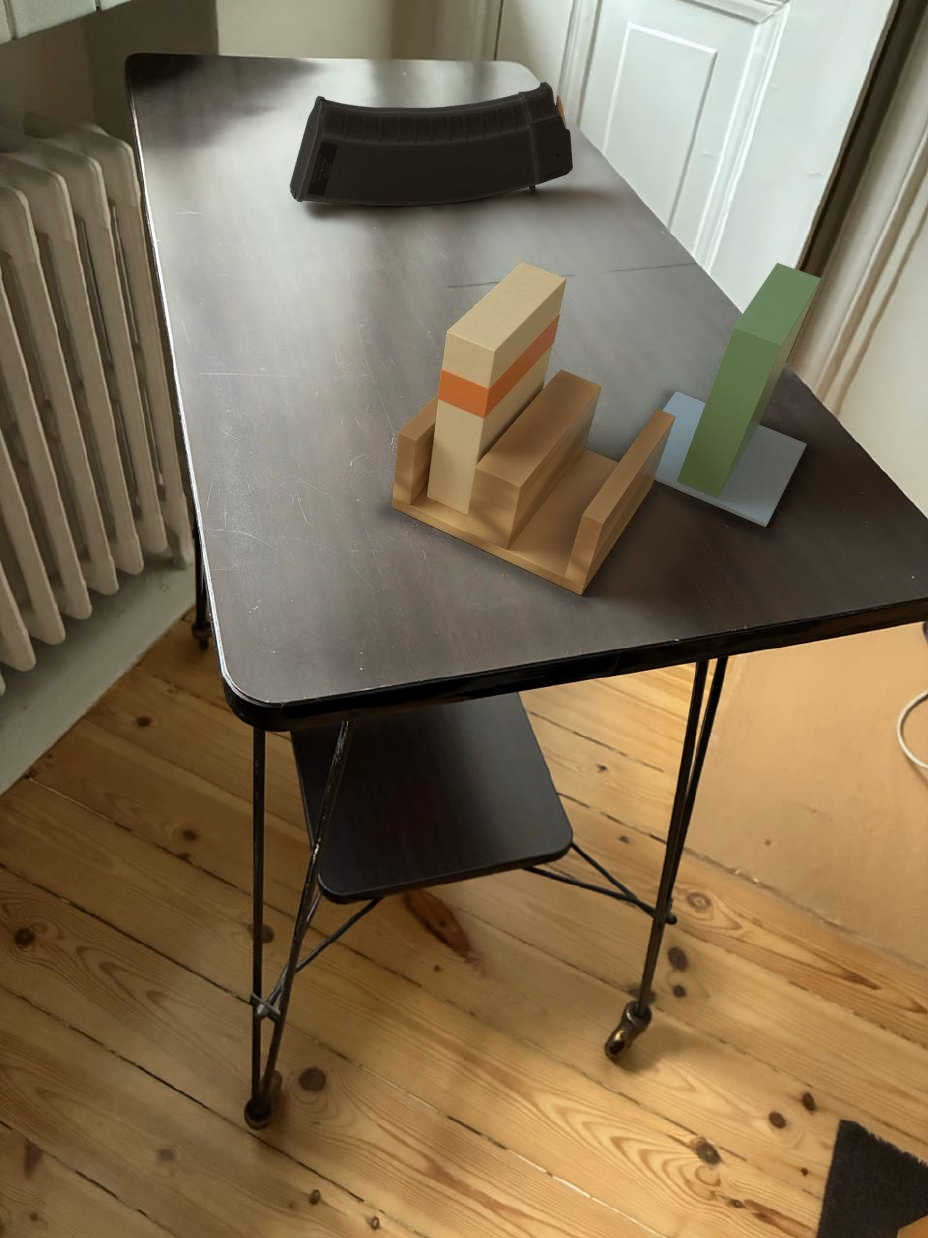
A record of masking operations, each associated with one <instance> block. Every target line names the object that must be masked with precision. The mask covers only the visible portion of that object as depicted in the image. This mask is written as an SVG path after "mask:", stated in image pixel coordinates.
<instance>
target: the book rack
mask: <svg viewBox="0 0 928 1238" xmlns="http://www.w3.org/2000/svg"><path fill="white" fill-rule="evenodd" d="M601 392H602V385H601V384H598V383H595V382H593V381H591V380H588V379H586V378H583V377H581V376H579V375H576V374H574V373H571V372H569V371H567V370H564V369H562V368H561V369H559V370H558V371H557V372H556V373H555V375H554V376H553V377H552V378H551V380H550V381H548V383H547V384H545V385H544V387H543V390H542V391H541V392H540V393H539V394H538V395H537V397H536V398H535V399H534V400H533V401H532V402H531V403H530V405H529V406H528V407H527V408H526V409H525V410H524V411H523V413H522V414H521V415H520V416H519V417H518V418H517V419H516V421H515V422H514V423H513V424H512V425H511V426H510V427H509V429H508V430H507V431H506V432H505V433H504V434H503V435H502V437H501V438H500V439H499V440H498V441H497V442H496V443H495V445H494V446H493V447H492V448H491V449H490V450H489V451H488V453H487V454H486V455H485V456H484V457H483V458H482V459H481V461H480V462H479V463H478V464H477V465H476V466H475V471H474V477H473V483H472V489H471V495H470V501H469V507H468V513H467V515H465V514H463V513H461V512H459V511H457V510H455V509H452V508H450V507H448V506H446V505H444V504H442V503H439V502H437V501H435V500H433V499H431V498H428V497H427V491H428V483H429V475H430V466H431V458H432V450H433V442H434V433H435V425H436V417H437V409H438V400H439V399H438V393H437V394H435V396H434V397H433V398H431V400H430V401H429V402H427V404H425V406H423V407H422V408H421V409H420V410H419V411H418V412H417V413H416V414H415V415H414V417H413V418H411V420H409V421H408V422H407V423H406V425H404V426H403V427H402V428H401V429H400V430H399V431H398V433H397V446H396V458H395V470H394V479H393V481H394V482H393V492H392V503H391V508H393V509H394V510H397V511H398V512H401V513H402V514H403V513H404V514H405V515H407V516H410V517H412V518H414V519H416V520H418V521H420V522H422V523H425V524H427V525H429V526H431V527H433V528H435V529H437V530H440V531H441V532H444V533H446V534H448V535H450V536H453V537H455V538H457V539H459V540H461V541H463V542H465V543H468V544H470V545H472V546H474V547H475V548H479V549H480V550H483V551H485V552H487V553H489V554H491V555H493V556H496V557H498V558H500V559H501V560H504V561H505V562H508V563H510V564H512V565H515V566H516V567H519V568H521V569H524V570H526V571H527V572H530V573H531V574H534V575H536V576H538V577H540V578H543V579H545V580H547V581H549V582H551V583H554V584H555V585H557V586H560V587H561V588H564V589H565V590H568V591H570V592H573V593H575V594H576V595H579V596H583V593H584V592H585V590H586V589H587V587H588V586H589V584H590V583H591V581H592V580H593V578H594V577H595V575H596V573H597V572H598V570H599V569H600V567H601V566H602V564H603V563H604V561H605V559H606V558H607V556H608V555H609V553H610V551H611V550H612V549H613V547H614V546H615V544H616V542H618V540H619V538H620V537H621V535H622V533H623V532H624V531H625V529H626V527H627V526H628V524H629V522H630V521H631V519H632V518H633V516H635V514H636V512H637V510H638V509H639V507H640V506H641V504H642V503H643V501H644V500H645V499H646V497H647V495H648V493H649V491H650V490H651V489H652V487H653V484H654V481H655V480H654V478H655V475H656V473H657V470H658V467H659V464H660V461H661V458H662V455H663V452H664V449H665V447H666V444H667V441H668V438H669V435H670V432H671V429H672V426H673V423H674V421H675V418H676V416H674V415H672V414H670V413H667V412H665V411H663V409H660V408H657V409H656V410H655V411H654V413H653V414H652V415H651V417H650V418H649V420H648V421H647V422H646V423H645V425H644V427H643V429H642V430H641V431H640V433H639V434H638V435H637V437H636V438H635V440H634V441H633V443H632V444H631V446H629V448H628V450H627V451H626V452H625V453H624V455H623V457H622V458H621V459H620V460H619V462H618V461H615V460H613V459H610V458H609V457H606V456H603V455H602V454H599V453H597V452H594V451H592V450H590V449H587V448H586V447H587V444H588V440H589V437H590V432H591V428H592V425H593V421H594V418H595V413H596V410H597V406H598V402H599V398H600V395H601Z"/></svg>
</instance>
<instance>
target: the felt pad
mask: <svg viewBox="0 0 928 1238" xmlns="http://www.w3.org/2000/svg"><path fill="white" fill-rule="evenodd" d="M705 403H706V402H705V401H701V400H699V399H697V398H694V397H691V396H689V395H686V394H684V393H682V392H680V391H675V392H674V393H673V395H672V396H671V398H670V399H669V400H668V402H667V403H666V405H665V407H664V408H662V411H665V412H667V413H670V414H672V415H674V416H676V418H675V421H674V423H673V426H672V429H671V432H670V435H669V438H668V441H667V444H666V447H665V449H664V452H663V455H662V458H661V461H660V464H659V467H658V470H657V473H656V475H655V478H654V481H656V482H659V483H661V484H663V485H665V486H667V487H670V488H672V489H675V490H677V491H680V492H682V493H685V494H686V495H689V496H692V497H694V498H695V499H698V500H701V501H703V502H705V503H708V504H710V505H712V506H715V507H717V508H719V509H723V510H724V511H727V512H728V513H731V514H734V515H735V516H738V517H740V518H742V519H745V520H747V521H749V522H752V523H753V524H754V523H755V524H757V525H759V526H762V527H763V528H766V527H767V525H769V522H770V520H771V518H772V516H773V514H774V512H775V510H776V508H777V506H778V505H779V502H780V500H781V498H782V496H783V493H784V491H785V490H786V487H787V486H788V484H789V481H790V480H791V477H792V475H793V474H794V472H795V469H796V468H797V466H798V463H799V461H800V459H801V458H802V455H803V453H804V451H805V449H806V447H807V445H808V443H806V442H803V441H801V440H798V439H797V438H793V437H791V436H789V435H786V434H784V433H781V432H779V431H776V430H774V429H771V428H768V427H767V426H763V425H761V424H759V426H758V428H757V430H756V432H755V433H754V435H753V437H752V439H751V441H750V442H749V444H748V446H747V448H746V449H745V451H744V453H743V455H742V457H741V458H740V460H739V462H738V464H737V466H736V467H735V469H734V471H733V473H732V475H731V476H730V478H729V480H728V482H727V483H726V485H725V487H724V489H723V491H722V492H721V494H720V496H719V498H718V499H717V498H715V497H712V496H710V495H708V494H705V493H703V492H701V491H698V490H696V489H694V488H691V487H689V486H687V485H684V484H682V483H679V482H677V479H678V476H679V474H680V471H681V468H682V466H683V463H684V460H685V457H686V455H687V452H688V449H689V447H690V444H691V441H692V439H693V436H694V433H695V430H696V428H697V425H698V422H699V420H700V417H701V414H702V412H703V409H704V406H705Z"/></svg>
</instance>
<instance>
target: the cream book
mask: <svg viewBox="0 0 928 1238" xmlns="http://www.w3.org/2000/svg"><path fill="white" fill-rule="evenodd" d="M567 280H568V279H567V278H566V277H564V276H561V275H559V274H556V273H553V272H551V271H548V270H545V269H542V268H540V267H538V266H535V265H532V264H530V263H527V262H524V261H521V262H520V263H519V264H518V265H517V266H516V267H515V268H514V269H513V270H512V271H510V272H509V274H507V275H506V276H505V277H504V278H503V279H502V280H501V281H500V282H499V283H497V285H495V286H494V287H493V288H492V289H491V290H490V291H489V292H488V293H487V294H485V296H483V297H482V298H481V299H480V300H479V301H478V302H477V303H476V304H475V305H474V306H473V307H472V308H470V309H469V310H468V311H467V312H466V313H465V314H464V315H463V316H462V317H461V318H460V319H459V320H457V321H456V322H455V323H454V324H453V325H452V326H450V328H449V329H448V330H446V336H445V342H444V343H445V344H444V352H443V360H442V367H441V369H440V374H439V375H440V377H439V382H438V383H439V384H438V391H437V394H438V399H439V400H438V409H437V417H436V425H435V433H434V442H433V450H432V458H431V466H430V475H429V483H428V491H427V497H428V498H431V499H433V500H435V501H437V502H439V503H442V504H444V505H446V506H448V507H450V508H452V509H455V510H457V511H459V512H461V513H463V514H465V515H467V513H468V507H469V501H470V495H471V489H472V483H473V477H474V471H475V466H476V465H477V464H478V463H479V462H480V461H481V459H482V458H483V457H484V456H485V455H486V454H487V453H488V451H489V450H490V449H491V448H492V447H493V446H494V445H495V443H496V442H497V441H498V440H499V439H500V438H501V437H502V435H503V434H504V433H505V432H506V431H507V430H508V429H509V427H510V426H511V425H512V424H513V423H514V422H515V421H516V419H517V418H518V417H519V416H520V415H521V414H522V413H523V411H524V410H525V409H526V408H527V407H528V406H529V405H530V403H531V402H532V401H533V400H534V399H535V398H536V397H537V395H538V394H539V393H540V392H541V391H542V390H543V389H544V387H545V382H546V377H547V373H548V367H549V363H550V358H551V354H552V350H553V345H554V343H555V339H556V335H557V331H558V326H559V321H560V316H561V314H560V312H561V307H562V303H563V298H564V293H565V289H566V286H567V285H566V284H567Z"/></svg>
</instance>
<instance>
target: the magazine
mask: <svg viewBox="0 0 928 1238" xmlns="http://www.w3.org/2000/svg"><path fill="white" fill-rule="evenodd" d="M554 96H555V95H554V90H553V87H552V85H550V84H549V83H548V82H547V81H542V82H540V83H539V86H538V87H536V88H534V89H531V90H525V91H517V93H515V94H512V95H507V96H503V97H498V98H493V99H489V100H484V101H478V102H473V103H465V104H463V103H462V104H457V105H448V106H433V107H432V106H431V107H401V106H398V107H394V106H393V107H392V106H391V107H390V106H389V107H387V106H386V107H383V106H381V107H379V106H377V107H376V106H375V107H373V106H363V105H355V104H348V103H342V102H338V101H334V100H329V99H326V98H325V96H321V95H317V96H316V97H315V100H314V104H313V108H312V109H311V111H310V112H309V114H308V117H307V120H306V124H305V128H304V131H303V134H302V139H301V142H300V146H299V149H298V152H297V153H298V154H297V157H296V161H295V165H294V167H293V172H292V175H291V179H290V183H289V192H290V195H291V196H292V198H293V200H294V201H295V200H296V202H297V203H303V202H313V203H314V202H315V203H329V204H340V205H355V206H365V207H366V206H369V207H422V206H434V205H435V206H436V205H449V204H456V203H464V202H470V201H475V200H482V199H485V198H489V197H490V198H491V197H495V196H498V195H502V194H507V193H511V192H515V191H519V190H523V189H528V188H529V190H530V191H531V192H532V193H533V194H534V195H535V194H537V187H536V186H538V185H542V184H545V183H547V182H550V181H553V180H555V179H559V178H561V177H564V176H567V175H568V174H570V173H571V172H572V171H573V169H574V163H573V149H572V135H571V131H570V129H569V128H567V122H566V117H565V111H564V106H563V103H562V100H561V96H560V95H557V96H556V101H555V97H554Z"/></svg>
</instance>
